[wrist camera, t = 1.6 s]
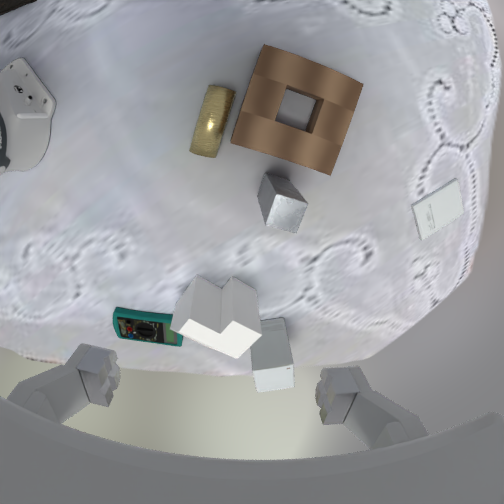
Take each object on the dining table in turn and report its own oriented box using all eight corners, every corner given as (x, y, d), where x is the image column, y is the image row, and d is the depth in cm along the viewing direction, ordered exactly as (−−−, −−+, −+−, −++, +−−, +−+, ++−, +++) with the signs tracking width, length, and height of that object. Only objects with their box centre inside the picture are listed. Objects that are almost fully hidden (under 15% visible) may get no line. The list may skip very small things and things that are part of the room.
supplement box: (247, 321, 56) (251, 370, 45) (284, 316, 56) (295, 364, 45) (251, 346, 60) (256, 393, 49) (285, 341, 60) (295, 387, 49)
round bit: (212, 153, 42) (219, 159, 39) (187, 148, 40) (192, 154, 37) (231, 92, 37) (240, 92, 34) (205, 85, 36) (212, 84, 32)
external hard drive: (459, 211, 48) (418, 238, 51) (453, 177, 45) (409, 204, 47) (464, 214, 47) (422, 241, 49) (458, 179, 44) (413, 207, 46)
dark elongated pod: (51, -29, 20) (43, -33, 17) (40, 0, 23) (31, -3, 20) (-17, 4, 17) (-25, 2, 14) (-25, 30, 20) (-34, 30, 17)
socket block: (230, 140, 40) (230, 143, 37) (261, 50, 34) (264, 44, 30) (322, 170, 43) (330, 175, 40) (352, 85, 37) (363, 84, 33)
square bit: (257, 196, 45) (265, 224, 34) (265, 172, 43) (276, 193, 32) (281, 203, 45) (296, 233, 35) (289, 180, 44) (308, 203, 33)
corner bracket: (256, 289, 53) (262, 334, 42) (222, 327, 57) (221, 373, 46) (206, 261, 49) (201, 303, 39) (175, 303, 53) (165, 348, 43)
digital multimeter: (113, 304, 53) (109, 313, 51) (183, 313, 55) (181, 323, 52) (118, 330, 57) (115, 339, 54) (183, 339, 58) (182, 349, 56)
